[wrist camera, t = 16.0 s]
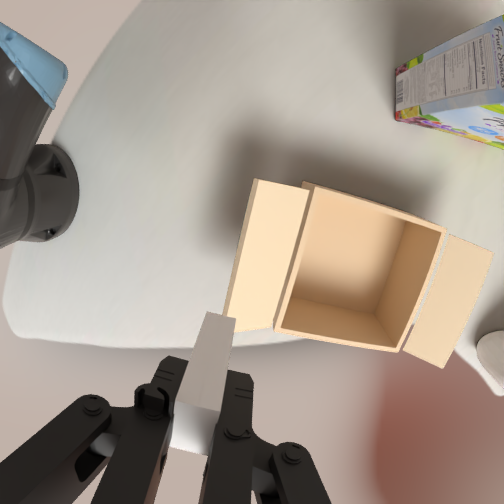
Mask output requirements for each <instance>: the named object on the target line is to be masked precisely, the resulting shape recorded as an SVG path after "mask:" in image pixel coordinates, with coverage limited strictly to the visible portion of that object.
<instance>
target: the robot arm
mask: <svg viewBox="0 0 504 504" xmlns="http://www.w3.org/2000/svg"><path fill="white" fill-rule="evenodd" d="M67 78H68V70H67V67H66V65H65V64H64V63H63V62H62V61H60V60H59V59H57V58H56V57H54V56H53V55H51V54H50V53H48V52H47V51H45V50H44V49H42V48H41V47H39V46H38V45H36V44H34V43H33V42H31V41H30V40H28V39H27V38H25V37H24V36H22V35H21V34H19V33H17V32H16V31H14V30H12V29H11V28H9V27H8V26H6V25H5V24H3V23H1V22H0V248H3V247H5V246H7V245H9V244H12V243H14V242H16V241H30V242H45V241H49V240H51V239H53V238H56V237H58V236H60V235H61V234H62V233H64V232H65V231H66V230H67V229H68V227H69V226H70V224H71V223H72V221H73V219H74V217H75V214H76V211H77V207H78V201H79V184H78V178H77V174H76V171H75V168H74V166H73V164H72V162H71V160H70V159H69V157H68V156H67V155H66V154H65V152H63V151H62V150H61V149H60V148H58V147H56V146H53V145H49V144H37V145H35V144H36V142H37V140H38V138H39V136H40V134H41V131H42V129H43V127H44V125H45V123H46V121H47V119H48V117H49V115H50V114H51V112H52V110H54V109H55V106H56V105H55V103H56V101H57V99H58V97H59V95H60V93H61V91H62V89H63V87H64V85H65V83H66V81H67ZM235 323H236V318H232V317H228V316H224V315H220V314H215V313H211V312H207V313H206V315H205V318H204V321H203V324H202V326H201V329H200V332H199V335H198V337H197V340H196V343H195V346H194V348H193V352H192V354H191V357H190V360H189V361H187V360H183V359H179V358H176V357H172V356H167V357H166V358H165V359H163V360H162V361H161V362H160V364H159V366H158V368H157V370H156V373H155V374H154V377H153V379H152V381H151V383H148V384H143V385H141V386H138V388H137V389H136V390H135V396H134V399H135V400H134V403H135V404H134V406H132V407H111V406H110V405H109V402H108V401H107V400H105V399H104V398H102V397H100V396H98V395H92V394H90V395H84V396H81V397H80V398H78V399H77V400H76V401H74V402H73V403H72V404H71V405H69V406H68V407H67V408H66V409H65V410H63V411H62V412H61V413H60V414H59V415H57V416H56V417H55V418H54V419H53V420H52V421H50V422H49V423H48V424H47V425H45V426H44V427H43V428H42V429H41V430H39V431H38V432H37V433H36V434H35V435H33V436H32V437H31V438H30V439H29V440H27V441H26V442H25V443H24V444H22V445H21V446H20V447H19V448H18V449H16V450H15V451H14V452H13V453H12V454H10V455H9V456H8V457H7V458H6V459H4V460H3V461H2V462H1V463H0V504H72V503H73V502H74V501H75V500H76V499H77V497H78V496H79V495H80V494H81V493H82V492H83V491H84V490H85V489H86V488H87V486H88V485H89V484H90V483H91V482H92V481H93V480H94V479H95V477H96V476H97V475H98V474H99V473H100V472H101V471H102V469H103V468H104V467H105V466H106V465H107V464H108V465H107V467H106V469H105V472H104V474H103V476H102V478H101V481H100V483H99V485H98V488H97V490H96V492H95V494H94V497H93V499H92V501H91V504H154V500H155V497H156V493H157V490H158V486H159V483H160V479H161V476H162V473H163V469H164V466H165V463H166V459H167V452H168V448H169V445H170V447H174V448H178V449H181V450H185V451H189V452H194V453H198V454H202V455H207V456H208V458H207V462H206V466H205V470H204V474H203V482H202V487H201V493H200V498H199V503H198V504H251V490H253V491H254V493H255V496H256V501H257V504H331V501H330V499H329V497H328V495H327V492H326V490H325V488H324V486H323V483H322V481H321V479H320V476H319V474H318V472H317V470H316V467H315V465H314V462H313V460H312V458H311V455H310V454H309V452H308V451H307V449H306V448H304V447H303V446H301V445H299V444H297V443H294V442H285V443H281V444H279V445H278V446H275V445H273V444H270V443H268V442H266V441H264V440H262V439H260V438H259V437H258V436H257V435H256V434H255V433H254V431H253V429H252V408H253V388H254V382H253V380H252V378H251V376H250V375H249V374H245V373H240V372H236V371H232V370H228V364H229V358H230V352H231V347H232V341H233V335H234V329H235Z"/></svg>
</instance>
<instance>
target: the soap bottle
mask: <svg viewBox="0 0 504 504" xmlns="http://www.w3.org/2000/svg"><path fill="white" fill-rule="evenodd" d="M476 351H477V358H478V359H479V361H480V363H481V364H482V366H483V367H484V368H485V370H486V371H487V372H488V373H489V374H490V375H491V376H492V377H493V379H494V380H495V381H496V382H497V383H498V384H499V385H500V386H501V387H502V388H503V389H504V330H502V331H495V332H491V333H489V334H486V335H485V336H483V337H482V338H481V339H480V340H479V342H478V344H477V348H476Z"/></svg>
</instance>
